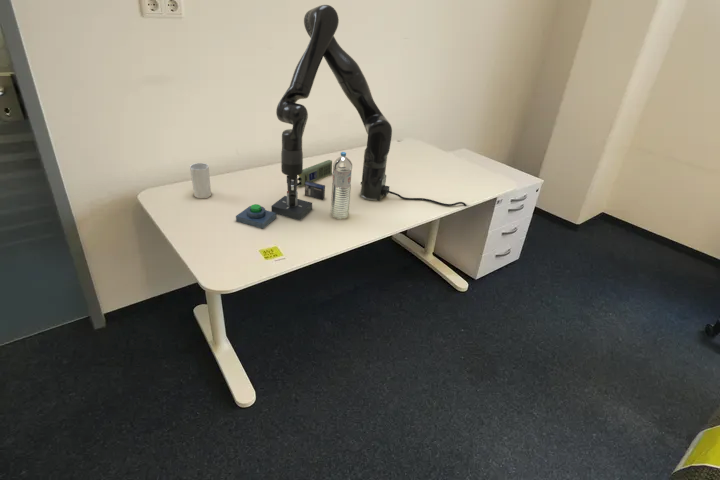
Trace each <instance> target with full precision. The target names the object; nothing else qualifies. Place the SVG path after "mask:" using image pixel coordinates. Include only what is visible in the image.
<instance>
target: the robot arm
mask: <svg viewBox="0 0 720 480" xmlns="http://www.w3.org/2000/svg"><path fill="white" fill-rule="evenodd" d="M339 21H340V20H339V15H338V12H337V10H336V9H335V8H334V7H333V6H332V5H329V4H322V5H321V4H320V5H318V6H316V7H314V8H311V9H310V10H308V11H306V13H305V14H304V17H303V25H304V29H305V32H306V33H307V35H308V36H309V38H310V39H309V42H308V45H307V47H306V49H305V51H304V52H303V54H302V55H301V57H300V59H299V61H298V63H297V65H296V67H295V69H294V70H293V74H292V77H291V80H290V83H289V86H288V88H287V90H286V91H285V93H283V96H282V97H281V99H280V100H279V102H278V103H277V106H276V111H275V112H276V113H275V115H276V118H277V119H278V120H279V121H280V122H282V123H285V124H289V125H292V128H288V129H284V130H283V131H282V133H281V153H280V156H281V157H280V158H281V159H280V160H281V161H280V162H281V163H280V165H281V168H280V171H281V173H282V174H283V175H285V176H286V186H287V190H286V191H289V195H288V196H289V206H295V198H296V191H297V192H298V186H297V183H299V180H298V178H299V177H298V175H300V174H301V173H302V172H303V169H304V167H303V166H304V164H303V163H304V152H303V136H304V133H305V129H306V125H307V122H308V118H309V113H308V110H307V107H306V106H305V105H303V104H300V103H297V102H298V101H299V100H305V99H308V98H309V97H310V94H311V93H312V88H313V86H314V82H315V79H316V77H317V74H318V70H319V68H320V65H321V63H322V60H323V58H324V60H325V61H326V64H327V66H328V67H329V69H330V71H331V72H332V74H333V76H334V77H335V80H336V82H337V83H338V84H339V86H340V89H341V90H342V92H343V93H344V95H345V97H346V98H347V100H349V102H350V103H351V104H352V106H353V107H354V108H355V109H356V111H357V113H358V115H359V117H360V119H361V121H362V124H363V127H364V129H365V132H366V135H367V138H366V140H367V141H366V148H365V149H364V151H363V152H364V153H363V163H362V174H361V175H362V176H361V181H360V198H362V199H364V200H366V201H371V202H374V201H376V202H381V200H382V199H383V198H384V197H387V195H388V194H391V195H394V196H397V197H399V198H400V199H402V200H405V201H425V202H431V203H434V204H437V205H441V206H445V207H452V206H453V207H454V206H457V205H463V206H465V207H467V204H466V203H465V202H463V201H457V202H453V203H446V202H445V203H444V202H439V201H437V200H434V199H430V198H424V197H405V196H402V195H401V194H399V193H397V192H394V191H391V190H390V186H389V185H386V182H387V174H386V171H387V162H388V155H389V153H390V149H391V144H392V136H393V127H392V125H391V123H390V122H389V120H388V119H387V118H386V117H385V115H384V114H383V113H382V111H381V110H380V108H379V107H378V105H377V103H376V102H375V100H374V97H373V95H372V92H371V88H370V86H369V83H368V81H367V79H366V77H365V75H364V73H363V71H362V69H361V68H360V66H359V64H358V62H357V61H356V60H355V59H354V58H353V57H352V56H351V55H350V54H349V53H348V52H346V50H344V48H342V47H341V45H340V44H339V43H338V41H337V39H336V37H335V36H334V35H336V32H337V30H338V27H339Z"/></svg>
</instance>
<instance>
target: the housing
mask: <svg viewBox="0 0 720 480" xmlns="http://www.w3.org/2000/svg"><path fill="white" fill-rule="evenodd" d="M276 219H277V214H276V213H275V212H272V210H267V209H266V208H265V206H261V212H258V213H253V212H251V205H249V206H248V207H247V208H245V209H244V210H242V211H241V212H239V213H238V214H237V215H235V222H237V223H241V224H243V225H244V224H245V225H248V226H252V227H255V228H258V229H263V230H264V228H267V226H268V225H269V224H271V223H272V222H274V220H276Z"/></svg>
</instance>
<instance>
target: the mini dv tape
mask: <svg viewBox="0 0 720 480" xmlns="http://www.w3.org/2000/svg"><path fill="white" fill-rule="evenodd" d="M304 196H305V197H308V198H312V199H316V200H320V201H324V200H325V198H326V185H325V184H322V183H317V182H310V181H306V182H305V186H304Z"/></svg>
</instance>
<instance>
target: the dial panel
mask: <svg viewBox="0 0 720 480" xmlns="http://www.w3.org/2000/svg"><path fill="white" fill-rule="evenodd" d="M270 208H271V210H270V211H271V212H275V213H276V215H278V216H282V217H286V218H290V219H292V220H297V221H302V219H303V218H305V217H306V216H307V215H309V213H311V211H313V202H311V201H307V200H304V199H300V198H298V205H297V206H294V207H291V206H288V205H287V195H283V196H282V197H281V198H279V200H277V201H276V202H274V203H273V204H272V205H271V206H270Z"/></svg>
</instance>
